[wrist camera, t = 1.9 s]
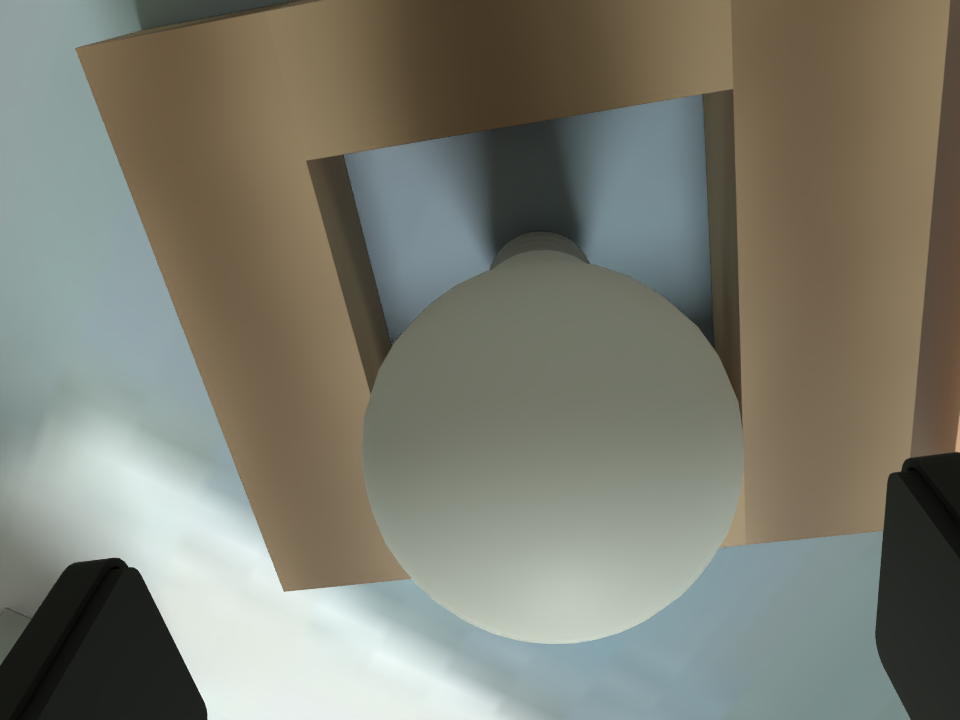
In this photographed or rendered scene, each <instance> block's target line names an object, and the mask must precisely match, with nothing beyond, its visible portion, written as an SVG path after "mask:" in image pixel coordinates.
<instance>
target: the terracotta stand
mask: <svg viewBox="0 0 960 720" xmlns="http://www.w3.org/2000/svg"><path fill="white" fill-rule="evenodd" d="M952 452H959V453H960V0H950V11H949V23H948V34H947V45H946V57H945V68H944V79H943V90H942V102H941V113H940V124H939V136H938V147H937V158H936V170H935V181H934V192H933V204H932V215H931V226H930V237H929V249H928V260H927V271H926V283H925V294H924V305H923V317H922V328H921V339H920V351H919V362H918V373H917V384H916V396H915V407H914V418H913V430H912V441H911V452H910V458H912V457H920V456H928V455H936V454H944V453H952Z"/></svg>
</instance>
